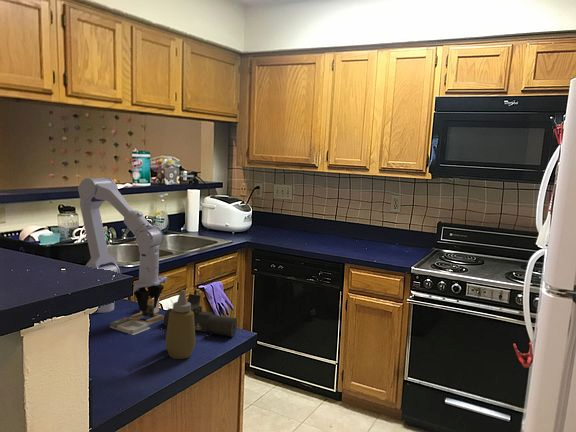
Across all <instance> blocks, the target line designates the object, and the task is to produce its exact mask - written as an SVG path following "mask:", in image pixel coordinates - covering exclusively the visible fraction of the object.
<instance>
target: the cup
mask: <svg viewBox="0 0 576 432" xmlns="http://www.w3.org/2000/svg"><path fill="white" fill-rule="evenodd" d="M140 312H142V311H140V310H139V313H140ZM159 312H160V297H159V298H158V301H157V305H156V308H154V313H156V314H157V313H159Z"/></svg>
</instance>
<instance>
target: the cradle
mask: <svg viewBox="0 0 576 432" xmlns="http://www.w3.org/2000/svg"><path fill="white" fill-rule="evenodd" d="M109 325H110V326H109V328H111V329H114V330H117V331H120V332H123V333H126V334H128V335H132V336H133V335H134V336H135V335H137V334H140V333H142V332H145V331H148V330H150V329H151V327H149V325H147V324H146V323H143V322H140V321H137V320H132V319H130V317H127V316H125V317H123V318H120V319H117V320H114V321H110V323H109Z"/></svg>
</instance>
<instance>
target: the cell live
mask: <svg viewBox="0 0 576 432" xmlns="http://www.w3.org/2000/svg"><path fill="white" fill-rule="evenodd" d="M142 315H143V316H145V317H153V315H154V296H148V300H147V309H146V311H145V312H143V311H142Z"/></svg>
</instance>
